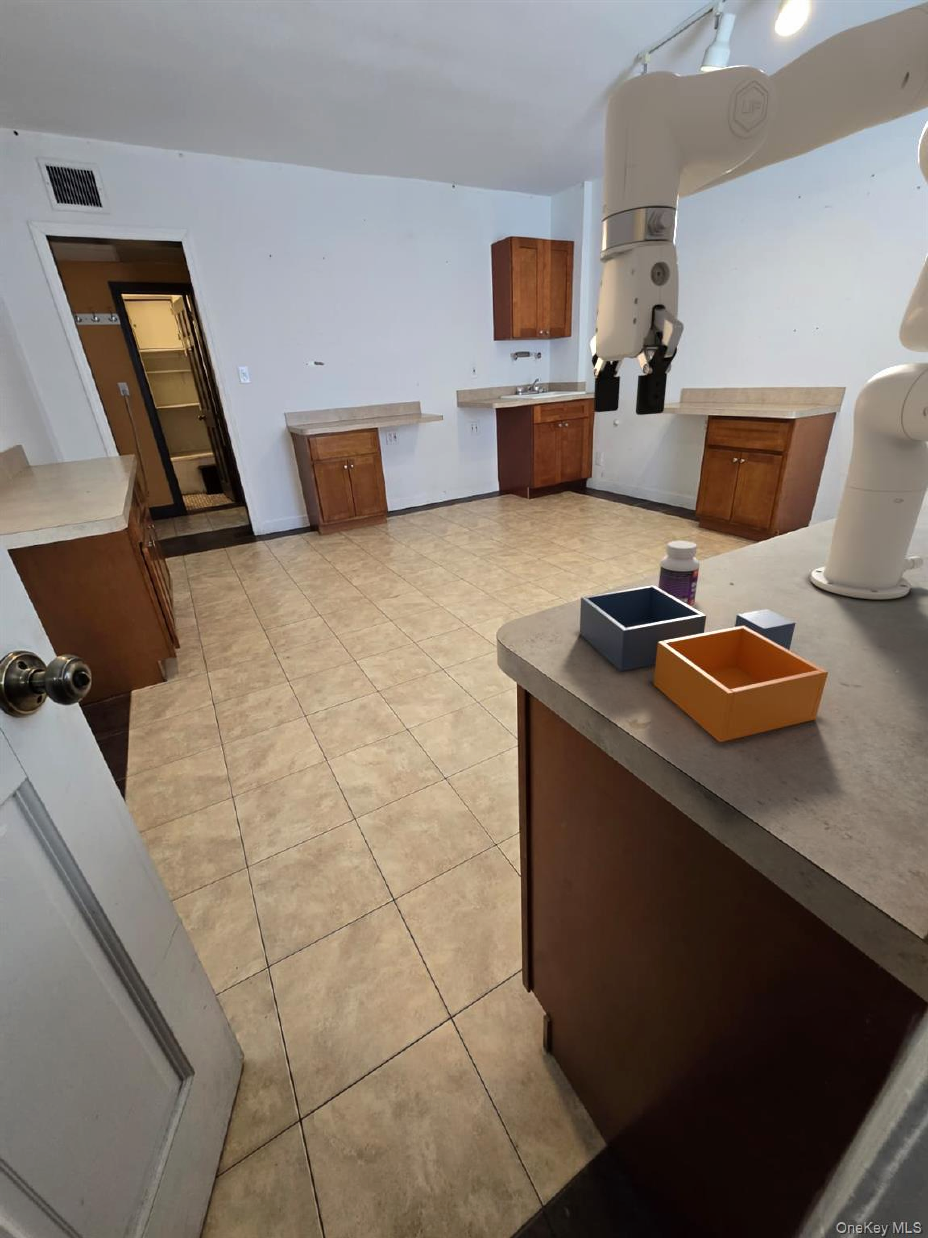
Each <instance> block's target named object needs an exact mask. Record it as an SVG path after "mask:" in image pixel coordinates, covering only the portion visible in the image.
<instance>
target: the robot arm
mask: <svg viewBox="0 0 928 1238" xmlns="http://www.w3.org/2000/svg"><path fill="white" fill-rule="evenodd" d="M927 108H928V1H926V2H923V3H920V4H918V5H915V6H911V7H909V8H906V9H903V10H900V11H898V12H895V13H891V14H889V15H885V16H883V17H880V18H876V19H874V20H870V21H868V22H865V23H862V24H859V25H856V26H853V27H849V28H846V29H844V30H842V31H839V32H838V33H835V34H834V35H832V36H830V37H828V38H826V39H825V40H823V41H821V42H820V43H817V44H816V45H814V46H813V47H811V48H809V49H808V50H806V51H805V52H803V53H802V54H799V55H798V56H797V57H796V58H794V59H792V60H791V61H789V62H788V63H787V64H785V65H784V66H782V67H781V68H780V69H778V70H776V71H775V72H773V73H772V74H770V75H768V74H766V72H765V71H763V70H761V69H760V68H757V67H755V66H751V65H733V66H727V67H723V68H719V69H718V68H717V69H714V70H709V71H705V72H699V73H693V74H687V75H679V74H677V73H675V72H673V71H670V70H669V71H667V70H656V71H649V72H645V73H643V74H642V73H641V74H638V75H636V76H634V77H632V78H629V79H628V80H626V81H624V82H623V83H622V84H620V85H619V86H618V87H617V88H616V90H614V92H613V93H612V94H611V97H610V99H609V101H608V104H607V108H606V112H605V129H604V131H605V133H604V155H603V156H604V157H603V182H602V206H601V207H602V210H601V232H600V257H599V261H600V262H601V263H602V267H601V273H600V281H599V288H598V298H597V307H596V308H597V309H596V321H595V335H594V336H593V337H592V338H591V340H590V344H589V345H590V350H591V356H592V357H591V364H592V367H593V372H592V376H593V378H594V390H593V391H594V395H593V411H594V413H606V412H616V411H618V409H619V405H620V404H619V402H620V388H621V387H620V386H621V385H620V384H621V376H620V375H619V376H618V372H619V370H620V368H621V366H622V363H623V361H624V359H627V358H628V359H637V361H638V364H639V367H640V369H641V372H642V375H640V374H639V375H637V387H636V389H637V390H636V401H635V402H636V403H635V413H636V414H635V415H637V416H645V415H657V414H663V413H664V410H665V401H666V400H665V399H666V391H667V390H666V389H667V381H668V374H669V373H670V372H671V370H672V362H673V361H674V359H675V357H676V355H677V353H678V346H679V343H680V340H681V337H682V335H683V332H684V329H685V327H684V323H683V322H682V321H681V320H680V319H678V313H679V291H680V290H679V285H680V283H679V277H680V275H679V257H678V249H677V246H676V245H675V239H676V229H677V219H678V205H679V200H681V199H684V198H687V197H689V196H693V195H695V194H698V193H700V192H704V191H706V190H710V189H712V188H715V187H717V186H720V185H722V184H723V185H724V184H726V183H728V182H731V181H733V180H736V179H738V178H741V177H743V176H745V175H748V174H750V173H751V174H752V173H753V172H755V171H759V170H761V169H764V168H767V167H769V166H772V165H775V164H778V163H781V162H785V161H788V160H790V159H794V158H796V157H799V156H802V155H805V154H808V153H810V152H812V151H815V150H817V149H820V148H821V147H823V146H827V145H828V144H832V143H834V142H838V141H839V140H843V139H845V138H848V137H851V136H853V135H856V134H858V133H860V132H864V131H866V130H869V129H872V128H875V127H878V126H880V125H883V124H886V123H890V122H892V121H895V120H898V119H901V118H903V117H906V116H909V115H912V114H914V113H917V112H919V111H923V110H924V109H927ZM917 160H918V166H919V169H920V171H921V174H922V176H923V178H924V181H925V182H926V184H927V185H928V121H927V122H926V124H925V126H924V128H923V130H922V133H921V135H920V138H919V143H918V148H917ZM899 325H900V326H899V331H898V332H899V333H898V335H899V336H898V338H899V341H900V343H901V346H903V347H904V348H906V349H907V350H909V351H912V352H917V353H928V253H927V254H926V255H925V259H924V262H923V264H922V266H921V269H920V272H919V274H918V277H917V280H916V282H915V284H914V286H913V289H912V291H911V294H910V298H909V300H908V302H907V304H906V308H905V310H904V313H903V316H902V319H901V321H900V324H899ZM853 408H854V410H853V438H852V448H851V454H850V460H849V466H848V470H847V474H846V478H845V483H844V485H843V490H842V493H841V499H840V501H839V502H840V503H839V507H838V510H837V515H836V519H835V523H834V528H833V530H832V531H833V532H832V536H831V540H830V544H829V548H828V551H827V556H826V561H825V565H824V566H821V567H818V568H816V569H814V570H812V572H811V574H810V581H811V582H812V584H813V585H815V586H816V587H818V588H820V589H822V590H824V591H826V592H830V593H833V594H836V595H841V596H845V597H848V598H849V597H851V598H855V599H856V598H857V599H863V600H864V599H865V600H894V599H898V598H902V597H904V596H906V595H908V594H909V592H910V589H911V583H910V582H909V581H908V580H907V579H906V578H904V577H903V576H904V573H906V572H907V571H911V570H916V569H919V568H922V566H924V560H923V558H922V556H918V555H916V556H909V557H907V554H908V550H909V548H910V545H911V541H912V539H913V535H914V532H915V529H916V524H917V522H918V518H919V515H920V513H921V508H922V506H923V502H924V499H925V496H926V494H927V493H926V492H927V489H928V443H927V442H928V362H914V363H907V364H899V365H895V366H892V367H889V368H886V369H884V370H881V371H880V372H879V373H878V372H877V374H874V376H872V377H871V378H870V379H869V380H868V381H866V383H865V384H863V386H862V388H861V389H860V391H859V393H858V394H857V398H856V400H855V404H854V407H853Z"/></svg>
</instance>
